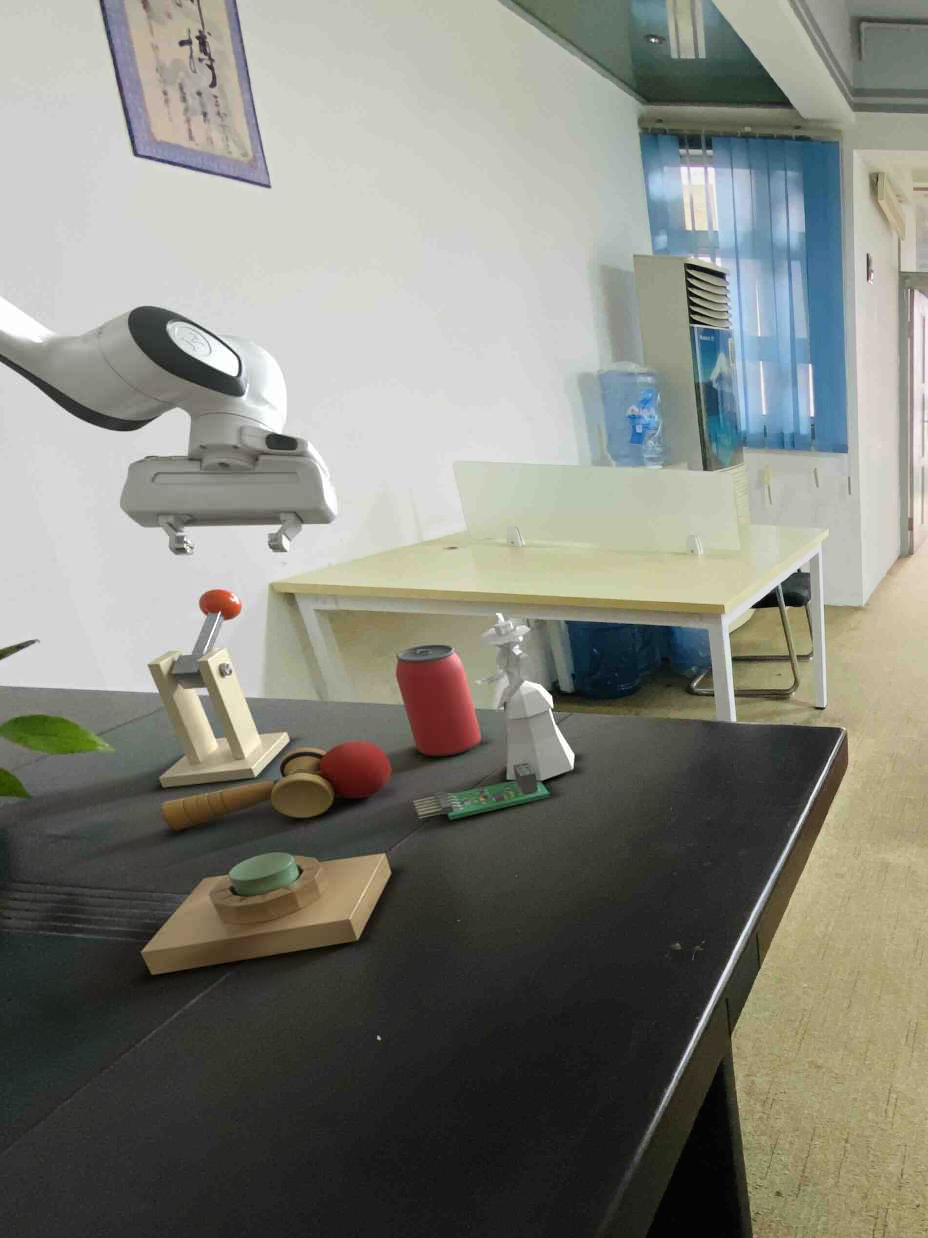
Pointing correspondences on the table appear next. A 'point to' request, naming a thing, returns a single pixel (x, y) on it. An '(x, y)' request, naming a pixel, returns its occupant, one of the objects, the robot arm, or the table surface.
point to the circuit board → (487, 796)
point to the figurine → (526, 709)
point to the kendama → (293, 785)
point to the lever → (206, 635)
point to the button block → (270, 915)
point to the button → (264, 874)
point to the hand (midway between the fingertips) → (230, 551)
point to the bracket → (203, 752)
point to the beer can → (437, 700)
